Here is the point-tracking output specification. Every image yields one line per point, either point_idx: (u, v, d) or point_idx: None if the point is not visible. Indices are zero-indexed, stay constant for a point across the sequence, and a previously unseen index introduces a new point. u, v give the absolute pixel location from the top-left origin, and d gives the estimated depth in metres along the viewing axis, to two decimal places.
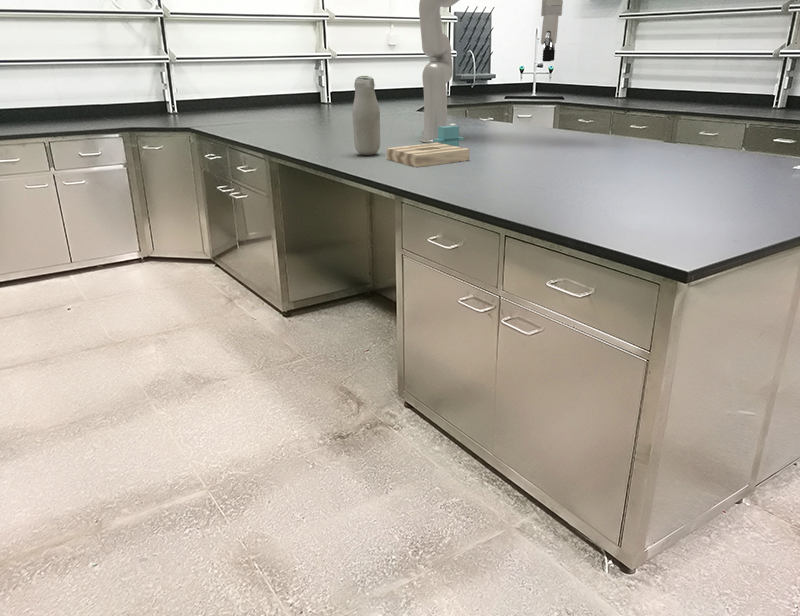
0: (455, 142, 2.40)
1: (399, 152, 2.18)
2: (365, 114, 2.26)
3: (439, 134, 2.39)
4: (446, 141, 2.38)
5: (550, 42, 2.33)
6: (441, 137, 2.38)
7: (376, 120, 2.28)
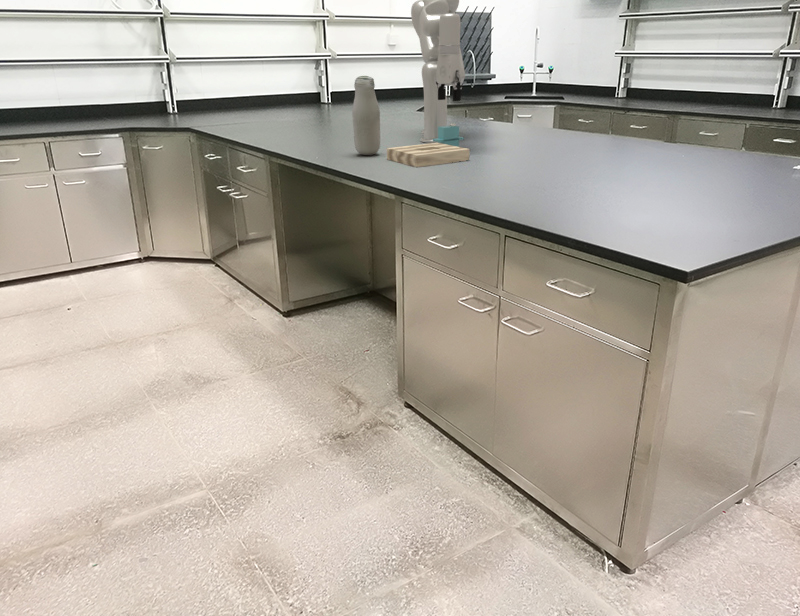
0: (455, 142, 2.40)
1: (399, 152, 2.18)
2: (365, 114, 2.26)
3: (439, 134, 2.39)
4: (446, 141, 2.38)
5: (458, 81, 2.29)
6: (441, 137, 2.38)
7: (376, 120, 2.28)
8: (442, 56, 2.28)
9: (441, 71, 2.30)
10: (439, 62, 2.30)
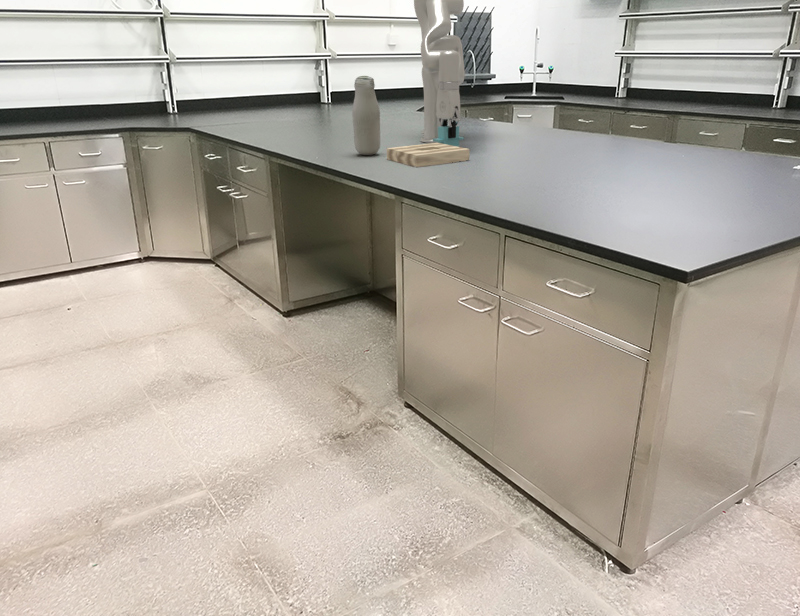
0: (455, 142, 2.40)
1: (399, 152, 2.18)
2: (365, 114, 2.26)
3: (439, 134, 2.39)
4: (446, 141, 2.38)
5: None
6: (441, 137, 2.38)
7: (376, 120, 2.28)
8: (441, 92, 2.33)
9: (441, 106, 2.35)
10: (439, 97, 2.35)
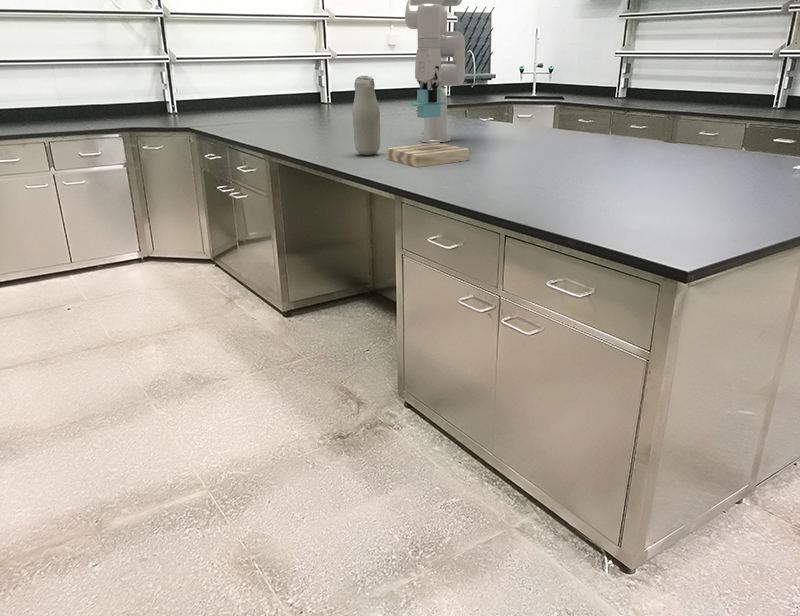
0: (436, 107, 2.17)
1: (399, 152, 2.18)
2: (365, 114, 2.26)
3: (418, 98, 2.16)
4: (426, 105, 2.15)
5: None
6: (421, 101, 2.15)
7: (376, 120, 2.28)
8: (421, 50, 2.10)
9: (420, 67, 2.12)
10: (418, 57, 2.12)
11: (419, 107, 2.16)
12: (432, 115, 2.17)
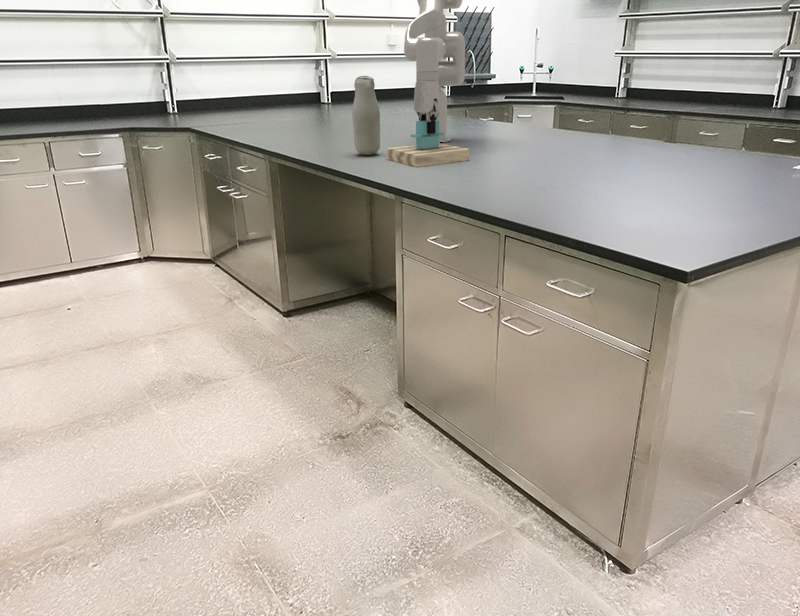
0: (435, 138, 2.20)
1: (399, 152, 2.18)
2: (365, 114, 2.26)
3: (417, 129, 2.18)
4: (425, 137, 2.17)
5: None
6: (419, 132, 2.18)
7: (376, 120, 2.28)
8: (419, 83, 2.13)
9: (419, 99, 2.15)
10: (416, 89, 2.15)
11: (418, 138, 2.19)
12: (431, 146, 2.20)
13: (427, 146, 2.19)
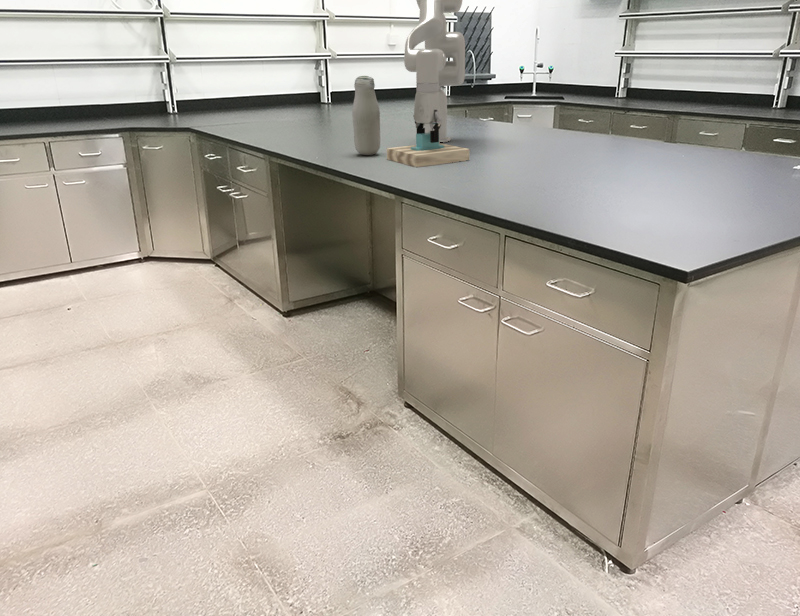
0: None
1: (399, 152, 2.18)
2: (365, 114, 2.26)
3: (417, 142, 2.20)
4: None
5: (436, 122, 2.15)
6: (419, 145, 2.20)
7: (376, 120, 2.28)
8: (419, 94, 2.14)
9: (419, 110, 2.16)
10: (417, 100, 2.16)
11: None
12: None
13: None
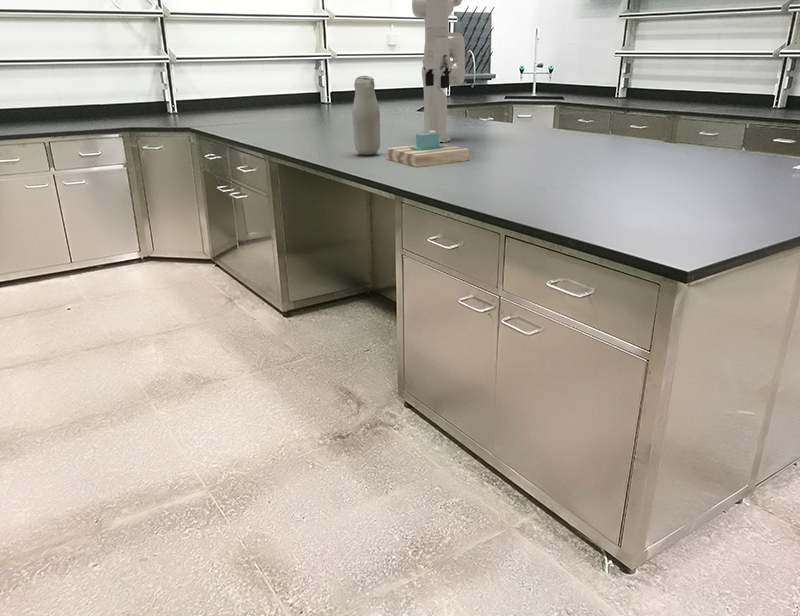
0: None
1: (399, 152, 2.18)
2: (365, 114, 2.26)
3: (417, 142, 2.20)
4: None
5: (446, 67, 2.14)
6: (419, 145, 2.20)
7: (376, 120, 2.28)
8: (429, 39, 2.13)
9: (428, 55, 2.16)
10: (426, 46, 2.16)
11: None
12: None
13: None
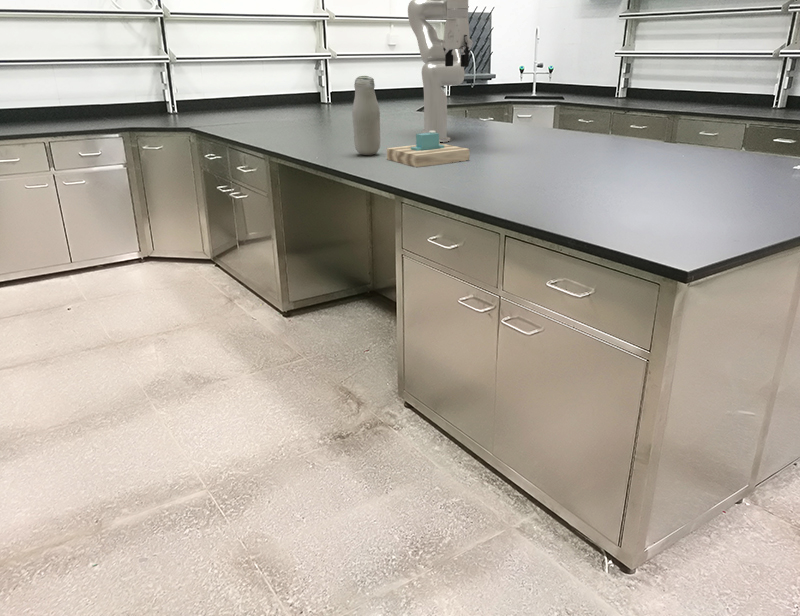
0: None
1: (399, 152, 2.18)
2: (365, 114, 2.26)
3: (417, 142, 2.20)
4: None
5: (466, 46, 2.24)
6: (419, 145, 2.20)
7: (376, 120, 2.28)
8: (450, 20, 2.23)
9: (449, 36, 2.25)
10: (447, 27, 2.25)
11: None
12: None
13: None
